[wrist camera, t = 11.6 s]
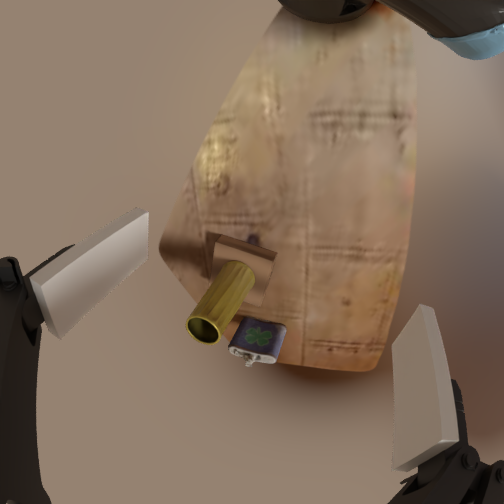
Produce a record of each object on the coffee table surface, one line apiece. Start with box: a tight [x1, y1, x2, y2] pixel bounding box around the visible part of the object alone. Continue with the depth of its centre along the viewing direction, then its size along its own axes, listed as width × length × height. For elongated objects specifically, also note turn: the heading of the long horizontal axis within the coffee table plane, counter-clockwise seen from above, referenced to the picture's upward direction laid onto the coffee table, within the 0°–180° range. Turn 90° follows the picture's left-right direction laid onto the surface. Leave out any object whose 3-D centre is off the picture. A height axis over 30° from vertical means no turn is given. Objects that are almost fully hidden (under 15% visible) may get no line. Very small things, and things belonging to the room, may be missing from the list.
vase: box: [186, 261, 255, 345], centre depth 43 cm, size 6×6×14 cm
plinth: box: [209, 235, 277, 307], centre depth 50 cm, size 10×10×3 cm
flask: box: [228, 316, 287, 367], centre depth 52 cm, size 9×3×11 cm, turn 88°
